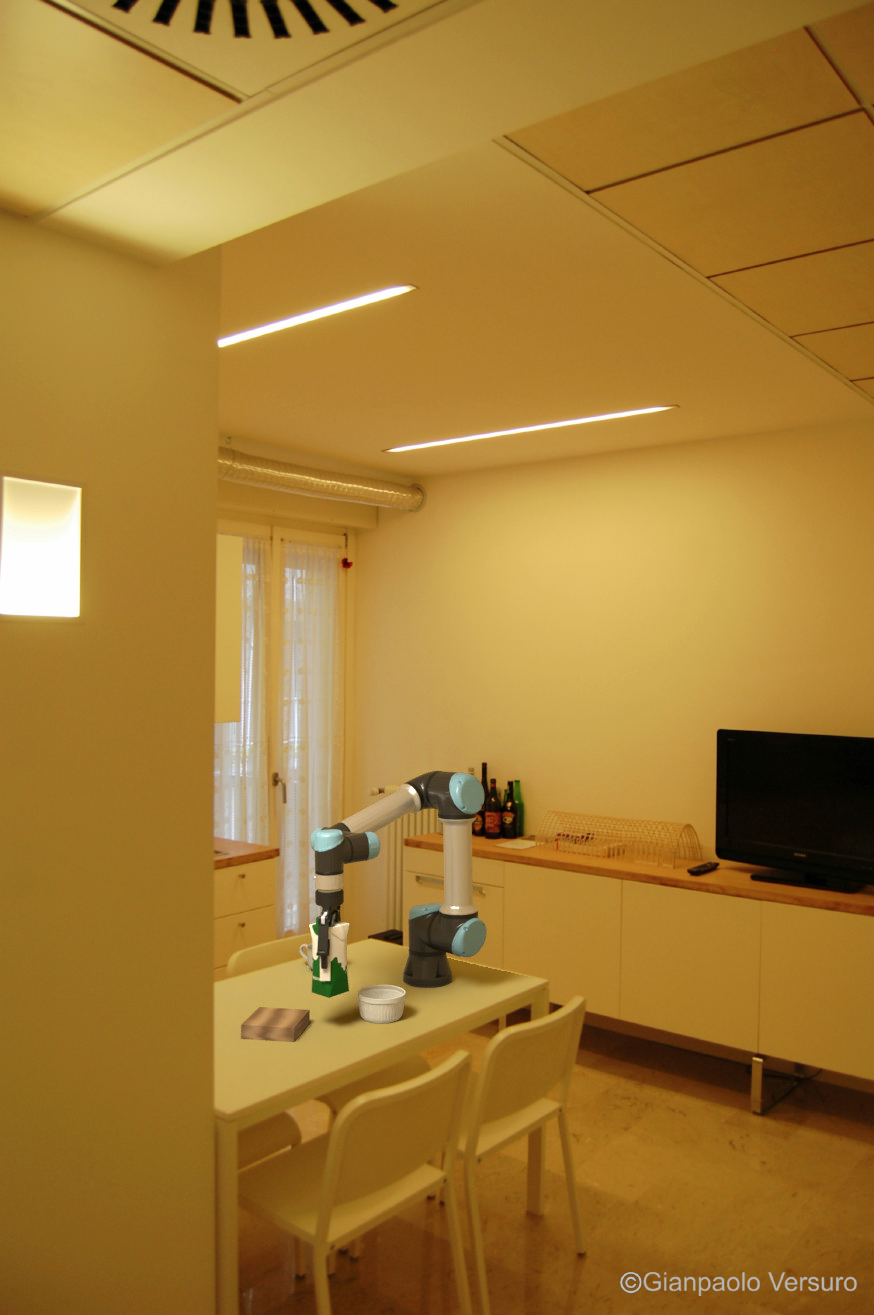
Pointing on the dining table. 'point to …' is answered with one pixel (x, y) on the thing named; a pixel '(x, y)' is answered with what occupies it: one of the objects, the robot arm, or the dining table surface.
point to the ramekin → (381, 1003)
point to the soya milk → (338, 960)
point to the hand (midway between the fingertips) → (330, 974)
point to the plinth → (275, 1024)
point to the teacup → (309, 954)
